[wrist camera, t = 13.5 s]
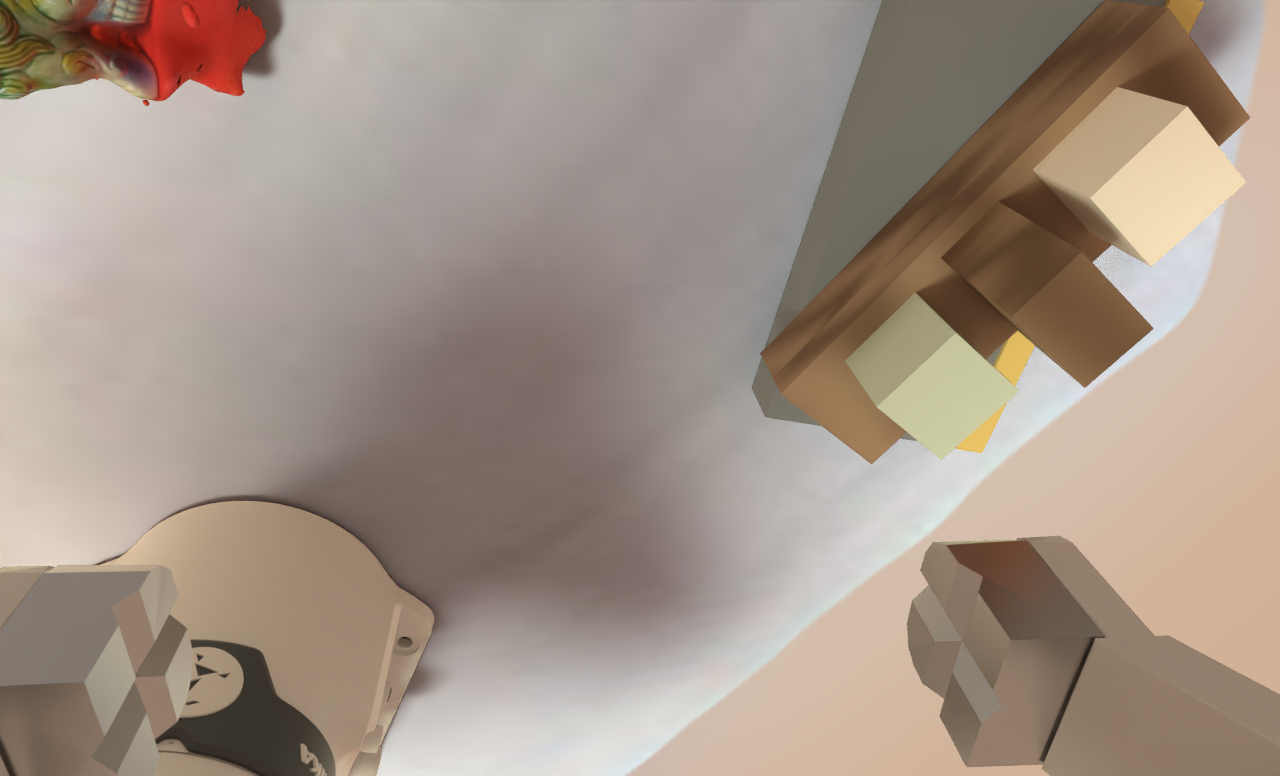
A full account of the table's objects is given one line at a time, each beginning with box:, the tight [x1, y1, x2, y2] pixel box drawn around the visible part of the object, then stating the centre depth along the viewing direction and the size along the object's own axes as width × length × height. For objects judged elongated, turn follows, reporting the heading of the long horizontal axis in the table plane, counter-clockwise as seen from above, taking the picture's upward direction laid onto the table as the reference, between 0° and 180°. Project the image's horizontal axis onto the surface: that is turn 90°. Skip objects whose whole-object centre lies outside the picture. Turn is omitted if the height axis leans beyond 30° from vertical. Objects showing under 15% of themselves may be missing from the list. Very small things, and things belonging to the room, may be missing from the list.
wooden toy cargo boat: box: [760, 0, 1250, 464], centre depth 34 cm, size 20×6×10 cm, turn 139°
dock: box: [752, 0, 1205, 453], centre depth 40 cm, size 22×12×3 cm, turn 166°
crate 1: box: [845, 293, 1019, 460], centre depth 35 cm, size 4×4×4 cm
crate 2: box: [1033, 87, 1246, 266], centre depth 32 cm, size 4×4×4 cm
